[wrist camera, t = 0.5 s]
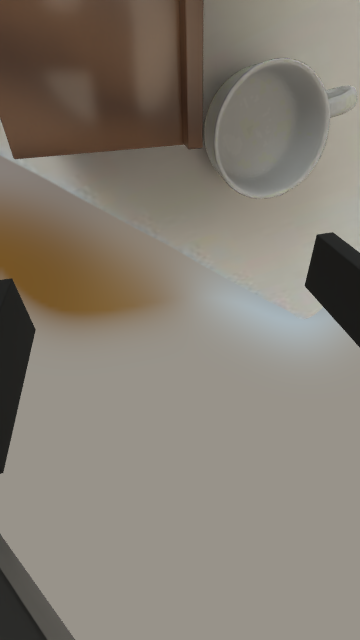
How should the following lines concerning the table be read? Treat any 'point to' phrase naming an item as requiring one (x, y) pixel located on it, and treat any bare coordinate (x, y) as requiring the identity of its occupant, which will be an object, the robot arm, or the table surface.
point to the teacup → (271, 126)
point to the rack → (100, 75)
